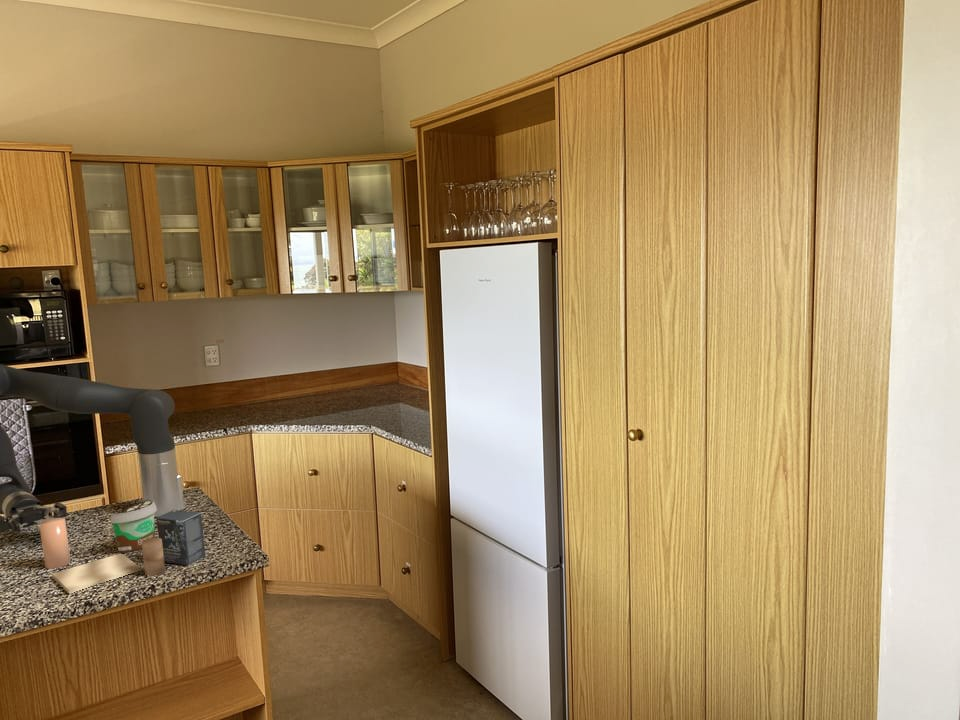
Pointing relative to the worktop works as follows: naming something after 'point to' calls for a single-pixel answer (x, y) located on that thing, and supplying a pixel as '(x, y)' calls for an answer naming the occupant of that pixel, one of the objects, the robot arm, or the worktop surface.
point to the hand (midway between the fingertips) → (39, 523)
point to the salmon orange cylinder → (55, 543)
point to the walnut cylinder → (153, 556)
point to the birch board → (95, 573)
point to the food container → (134, 526)
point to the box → (181, 536)
